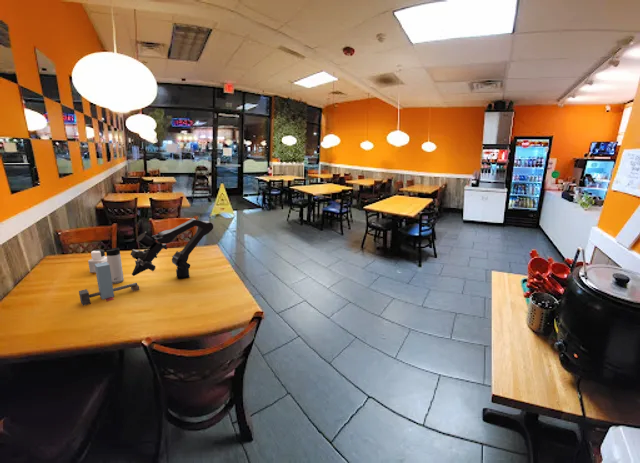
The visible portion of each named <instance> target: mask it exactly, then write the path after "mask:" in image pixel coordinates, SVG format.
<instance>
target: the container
mask: <svg viewBox="0 0 640 463" xmlns="http://www.w3.org/2000/svg"><path fill="white" fill-rule="evenodd" d="M90 255H91V259H88V260H87V261H88V262H87V263H88V267H89V268H88V269H89V273H96V270H95V264H98V263H103V262H107V263H108V261H107V256H106V251H105V250H104V249H101V248H100V249H99V248H98V249H94V250H92V251H91V252H90Z"/></svg>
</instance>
